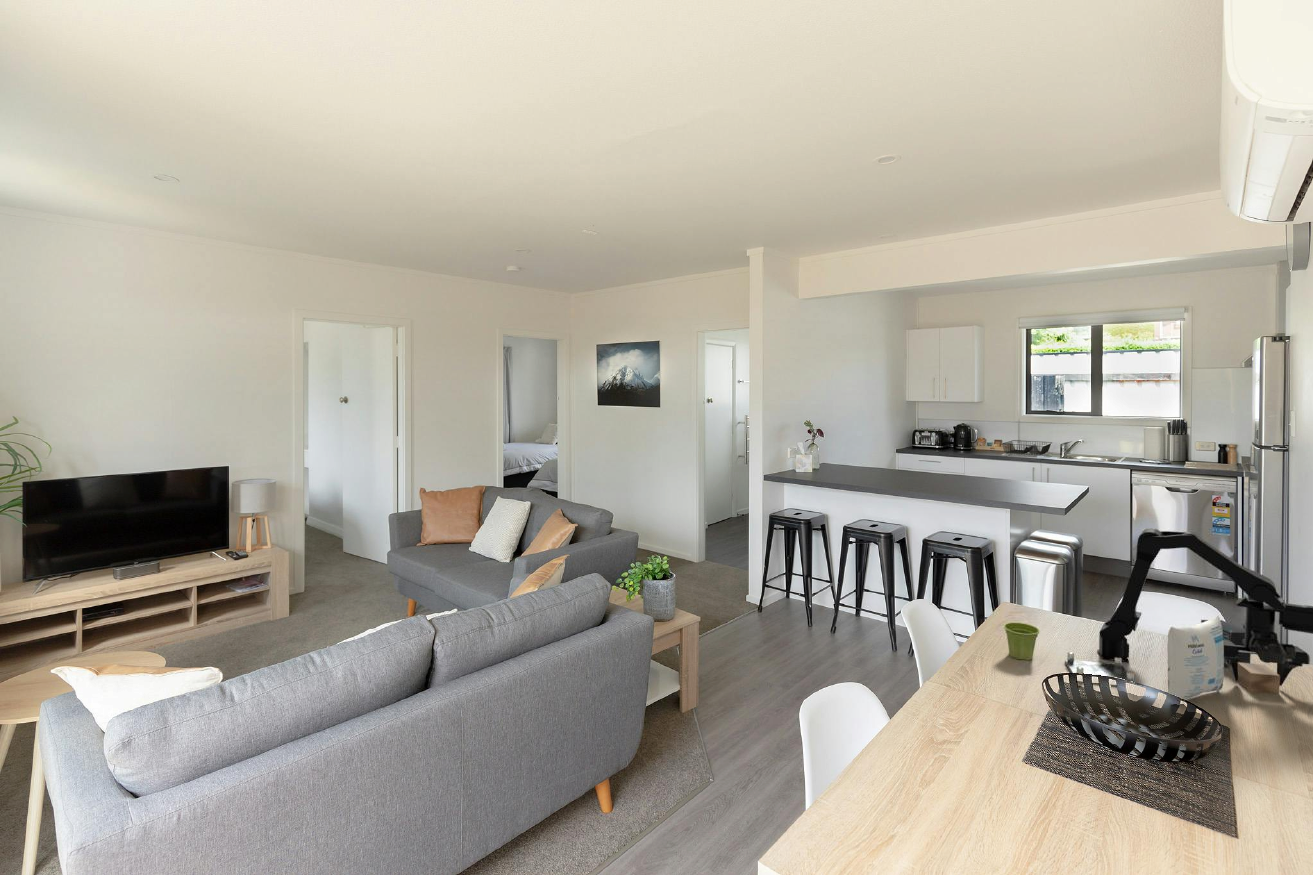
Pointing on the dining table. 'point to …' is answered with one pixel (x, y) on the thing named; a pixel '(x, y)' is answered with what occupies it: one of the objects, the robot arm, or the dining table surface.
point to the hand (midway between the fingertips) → (1257, 682)
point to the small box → (1234, 639)
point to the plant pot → (1021, 639)
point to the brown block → (1258, 678)
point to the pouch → (1195, 659)
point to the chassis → (1098, 668)
